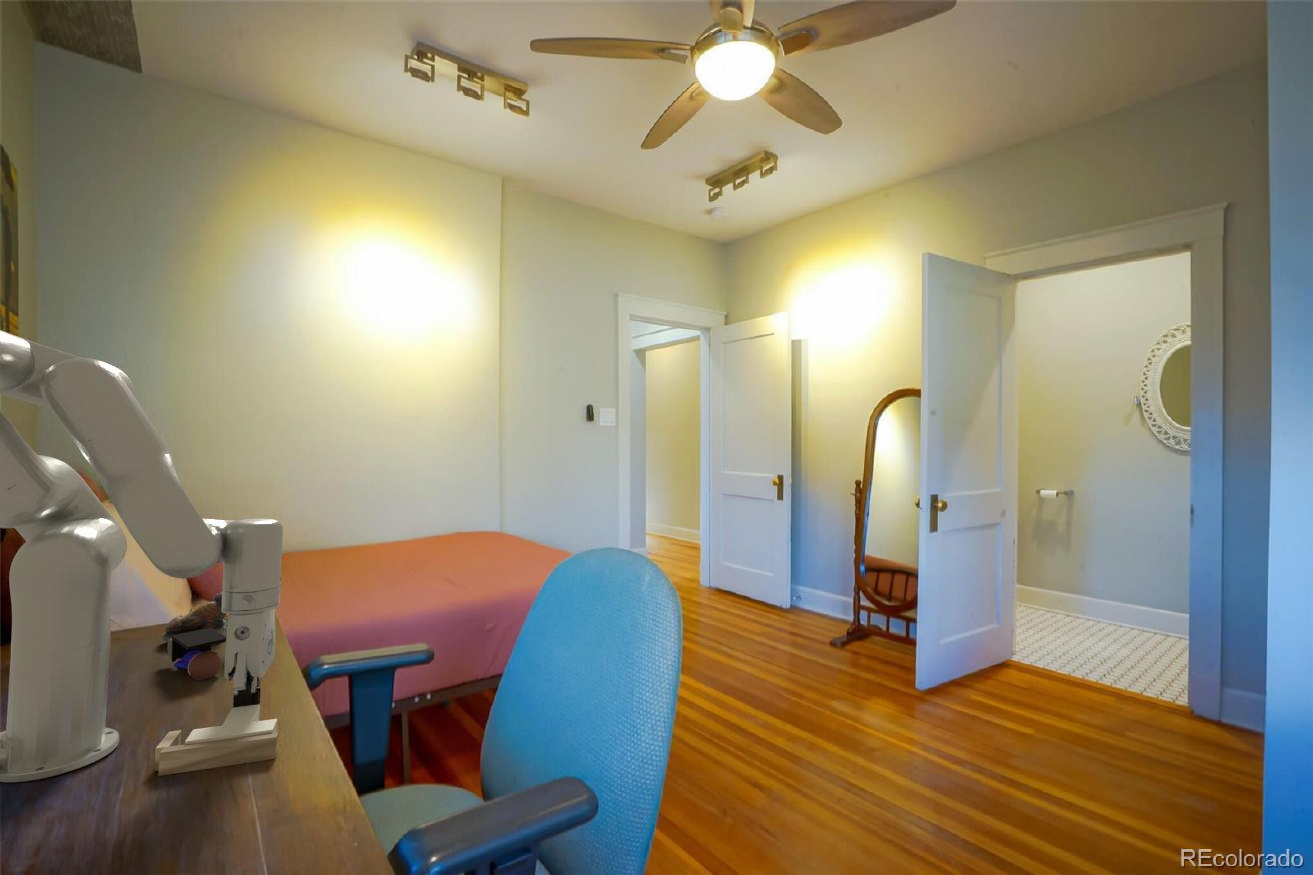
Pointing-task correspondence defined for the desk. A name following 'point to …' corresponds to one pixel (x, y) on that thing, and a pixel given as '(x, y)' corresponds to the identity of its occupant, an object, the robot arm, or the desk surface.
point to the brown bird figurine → (199, 620)
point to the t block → (235, 726)
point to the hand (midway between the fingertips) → (246, 716)
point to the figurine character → (197, 652)
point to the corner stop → (212, 752)
